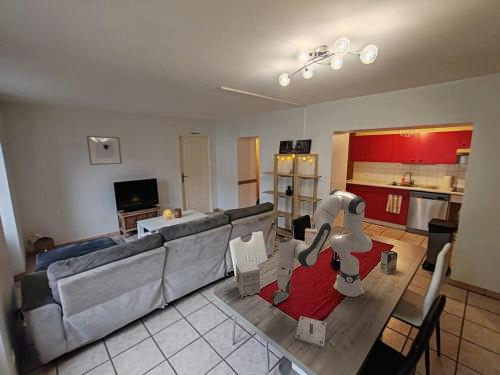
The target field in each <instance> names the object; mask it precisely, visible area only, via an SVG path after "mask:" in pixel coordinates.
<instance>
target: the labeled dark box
mask: <svg viewBox="0 0 500 375" xmlns="http://www.w3.org/2000/svg"><path fill="white" fill-rule="evenodd" d="M291 290H292V280H291V279H289V281H288V284H287V286H286V291H283V290H282V289H281V292H285V293H289V294H291Z"/></svg>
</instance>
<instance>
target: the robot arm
mask: <svg viewBox="0 0 500 375" xmlns="http://www.w3.org/2000/svg"><path fill="white" fill-rule="evenodd" d="M365 209H366V201H365V200H364V199H363V198H362V197H361V196H357V195H356V194H354V193H351V192H348V191H345V190H342V189H338V188H337V189H333V190H332V191H331V192H330V193H329V194H328V196H326V198H325V199H323V201H322V202H321V203H320V204H319V205H318V207H317V208H316V209H315V212H314V214H313V218H312V219H313V222H314V225H315V229H317V232H316V235H315V237H314V239H313V240H312V242H311V244H310V246H308V245H307V244H306V243H305V241H304V240H301V239H295V238H294V237H291V236H284V237H283V236H282V238H280V239H279V241H278V246H277V247H278V249H277V254H278V257H277V258H278V259H277V269H276V275H277V287H278V289H282V290H283V291H286V286H287V284H288V281H289V280H291V277H292V274H293V272H294V270H295V269H294V268H295V260H296V259H297V261H298V262H299V264H300V265H301V266H302V267H304V268H311V267H314V265H316V263H317V262H318V260H319V256H320V253H321V252H322V250H323V248H324V245H325V244H326V242H327V240H328V238H329V236H330V234H331V232H332V231H331V230H332V226H333V223H334V221H335V220H336V218H337V217H338V215H339V213H340V211H344V216H343V225H342V226H343V227H344V229H345V231H346V232H348V233H350V234H344V233H343V234H332V236H331V237H330V239H329V245H330V247H331V249H332V250H333V251H334V252H336V253H337V255H338V257H339V259H340V260H339V261H340V268H339V271H338V272H339V274H337V275H336V280H335V282H334V285H333V288H334V289H335V290H336V291H338V292H339V293H340V294H341V295H344V296H347V297H350V298H351V297H352V298H353V297H359V296H360V295H364V294H365V291H364V289H363V287H362V280H361V279H360V272H359V269H360V261H359V259H358V258H357V257H356V256H355V255H352V254H351V253H364V252H365V253H366V252H370V251H371V249H372V248H373V240H372V239H371V237H370V236H368V235H367V234H366V233H365V231H364V220H365Z"/></svg>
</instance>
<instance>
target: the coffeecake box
mask: <svg viewBox="0 0 500 375" xmlns="http://www.w3.org/2000/svg"><path fill="white" fill-rule="evenodd" d="M316 232H317V228H310V227H309V228H308V227H306V228H305V229H304V242H305V243H306V244H307V245H308V246H310V244H311V242H312V240H313V239H314V237H315V235H316Z"/></svg>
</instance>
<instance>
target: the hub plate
mask: <svg viewBox="0 0 500 375" xmlns="http://www.w3.org/2000/svg"><path fill="white" fill-rule="evenodd" d="M326 333H327V322H326V321H323V320H318V319H315V318H309V317H307V316H302V315H300V316H299V320H298V324H297V327H296V332H295V336H294V340H295V341H298V342H301V343H306V344H309V345H312V346H315V347H319V348H321V349H325V345H326V344H325V342H326Z"/></svg>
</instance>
